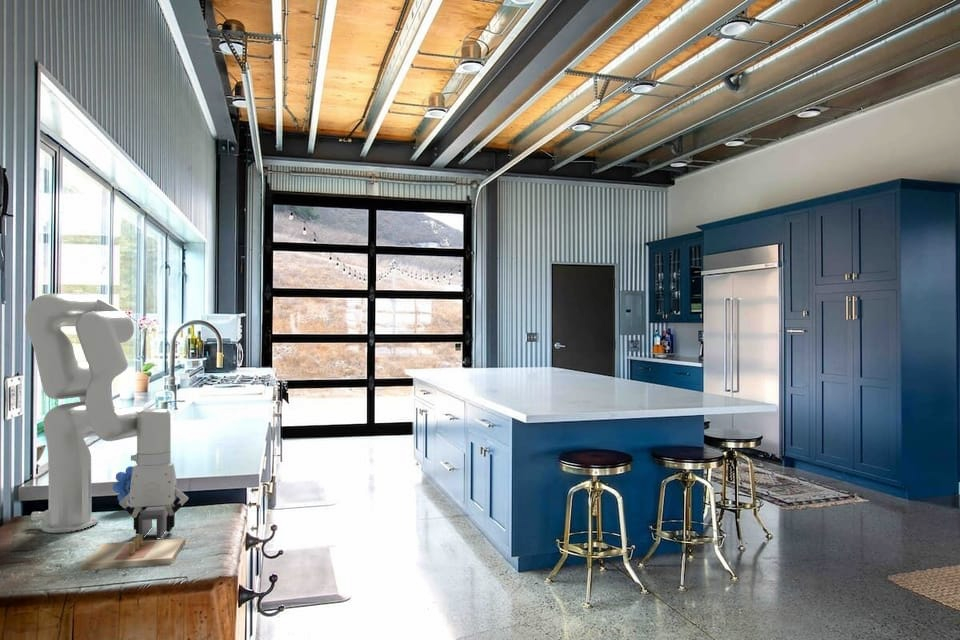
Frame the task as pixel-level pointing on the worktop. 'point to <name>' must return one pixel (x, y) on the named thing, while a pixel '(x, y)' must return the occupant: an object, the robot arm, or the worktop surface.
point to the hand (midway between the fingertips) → (154, 530)
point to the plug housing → (146, 520)
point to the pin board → (134, 553)
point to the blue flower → (123, 483)
